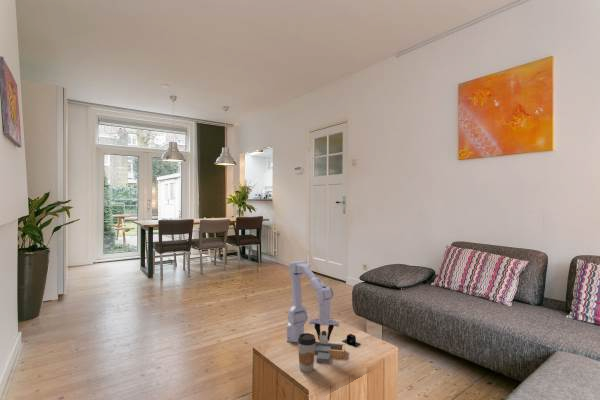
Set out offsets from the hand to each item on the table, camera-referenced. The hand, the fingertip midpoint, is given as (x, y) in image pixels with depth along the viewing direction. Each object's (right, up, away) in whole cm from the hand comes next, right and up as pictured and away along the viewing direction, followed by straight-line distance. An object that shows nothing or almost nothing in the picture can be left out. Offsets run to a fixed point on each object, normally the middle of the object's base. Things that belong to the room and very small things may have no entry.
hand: (323, 339), depth 157 cm
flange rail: (+2, -9, +6) cm, 11 cm away
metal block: (0, -1, 0) cm, 1 cm away
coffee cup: (-9, -9, -10) cm, 16 cm away
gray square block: (0, -9, -2) cm, 9 cm away
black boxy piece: (+16, -10, +18) cm, 26 cm away
